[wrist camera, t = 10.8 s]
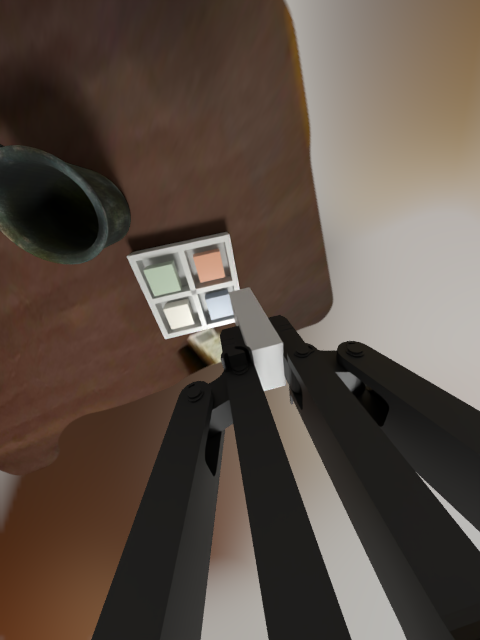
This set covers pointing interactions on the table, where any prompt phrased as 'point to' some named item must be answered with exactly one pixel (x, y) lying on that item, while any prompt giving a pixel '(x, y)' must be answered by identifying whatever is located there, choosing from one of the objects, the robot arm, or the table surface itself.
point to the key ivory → (179, 313)
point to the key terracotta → (209, 265)
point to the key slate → (219, 304)
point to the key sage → (163, 278)
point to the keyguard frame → (187, 280)
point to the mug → (58, 206)
